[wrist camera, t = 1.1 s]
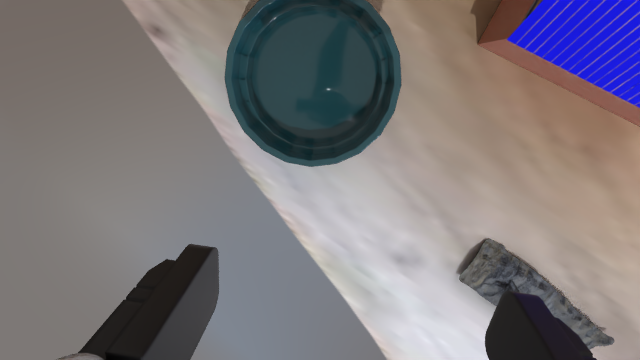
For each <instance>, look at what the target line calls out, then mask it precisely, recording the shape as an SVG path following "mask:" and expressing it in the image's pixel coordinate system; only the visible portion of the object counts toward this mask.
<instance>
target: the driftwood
mask: <svg viewBox="0 0 640 360" xmlns="http://www.w3.org/2000/svg"><path fill="white" fill-rule="evenodd" d="M459 280H460V281H461V282H462V283H464V284H467V285H468V286H470V287H471V288H472V289H474V290H475V291H477V292H478V293H479V294H480V295H481V296H482V297H484V298H485V299H487V300H488V301H489V302H491V303H493V304H494V305H496V306H497V305H498V302H499V300H500V298H501V296H502V294H503V293H504V292H505V291H512V292H519V293H526V294H533V295H537V296H539V297H540V298H541V299H542V300H543V302H544V303H545V305H546V306H547V307H548V309H549V310H550V312H551V313H552V315H553V316H554V317H555V318H559V319H560V320H561V321H563V322H564V323H565V324H566V325H567V326H568V327H570V328H571V329H572V330H573V331H574V332H575V333H576V334H578V335H579V337H580V338H581V339H582V341H583V342H584V343H585V345H586V346H587V347H588V349H589V350H590V349H591V348H594V347H595V346H607V345H611V344H613V343H614V339H613V338H612V337H610V336H607V335H606V334H604V333H603V332H601V331H600V330H599V329H598V328H595V325H594V324H593V323H592V322H591V321H589V320H587V319H586V318H585V317H584V316H583V315H581V314H580V313H579V312H577V311H576V310H575V308H573V306H572V305H571V304H570V303H569V301H568V300H567V299H566V298H565V297H563V296H562V295H561V294H560V293H558V292H557V291H556V290H555V289H554V288H553V287H552V286H551V285H550V284H549V283H547V282H546V281H545V280H543V279H542V278H541V276H540V275H539V274H538V273H536V272H535V271H534V270H533V269H531V268H530V267H529V266H527V265H525V264H524V263H523V262H522V261H520V260H519V259H517V258H515V257H514V256H512V255H511V254H510V253H508V252H507V251H506V249H505V247H504V246H502V245H499V244H498V243H497V242H495V241H494V240H491V239H488V240H486V241H485V242H484V243H483V245H482V247H481V249H480V251H479V252H478V254H477V255H476V257H475V258H474V260H473V262H472V263H471V264H470V265H469V266H468V268H467V269H466V270H465V271H464V272H463V273H462V274H461V276H460V277H459Z"/></svg>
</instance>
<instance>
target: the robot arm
mask: <svg viewBox="0 0 640 360" xmlns="http://www.w3.org/2000/svg"><path fill="white" fill-rule="evenodd" d="M218 294H219V263H218V250H217V248H215V247H208V246H201V245H194V244H189V245H188V246H187V247H186V248H185V249H184V250H183V252H182V253H181V254H180V256H179V257H178V259H177V260H176V261H174V260H168V259H166V260H165V261H163V262H162V263H160V264H158V265H157V266H155V267H154V268H152V269H150V270H149V271H148V272H147V273H146V275H145V276H144V277H143V278H142V279H141V280H140V282H139V283H138V284H137V287H136V288H133V290H132V291H131V292H130V293H129V294H128V296H127V297H126V300H123V301H122V302H121V304H120V305H119V306H118V307H117V308H116V309H115V311H114V312H113V313H112V314H111V315H110V316H109V318H108V319H107V320H106V321H105V322H104V323H103V325H102V326H101V327H100V328H99V329H98V330H97V332H96V333H95V334H94V335H93V336H92V338H91V339H90V340H89V341H88V342H87V343H86V345H85V346H84V347H83V348H82V349H81V350H80V351H79V352H78V353H77V354H72V355H68V356H64V357H62V358H59V359H57V360H190V359H191V357H192V355H193V353H194V351H195V349H196V347H197V345H198V343H199V341H200V339H201V337H202V335H203V333H204V331H205V329H206V327H207V325H208V322H209V321H210V319H211V316H212V315H213V313H214V310H215V307H216V304H217V300H218ZM485 347H486V352H487V355H488V358H489V360H597V359H596V358H593V356H592V355H593V354H592V353H591V351H590V350H589V349H588V347H587V346H586V345H585V343H584V342H583V341H582V339H581V338H580V337H579V335H578V334H576V333H575V332H574V331H573V330H572V329H571V328H570V327H568V326H567V325H566V324H565V323H564V322H563V321H561V320H560V319H559V318H555V317H554V316H553V315H552V313H551V312H550V310H549V309H548V307H547V306H546V305H545V303H544V302H543V300H542V299H541V298H540V297H539V296H537V295H533V294H526V293H519V292H512V291H505V292H504V293H503V294H502V296H501V298H500V300H499V302H498V305H497V307H496V310H495V312H494V314H493V317H492V319H491V321H490V324H489V326H488V329H487V331H486V336H485Z"/></svg>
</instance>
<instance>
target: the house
mask: <svg viewBox="0 0 640 360" xmlns="http://www.w3.org/2000/svg"><path fill="white" fill-rule="evenodd" d="M540 2H541V0H502V1H501V3H500V4H499V6H498V8H497V10H496V12H495V13H494V15H493V17H492V19H491V21H490V22H489V24H488V26H487V28H486V30H485V31H484V33H483V35H482V37H481V39H480V40H479V42H478V44H477V45H479V46H481V47H483V48H485V49H487V50H489V51H491V52H493V53H495V54H497V55H499V56H501V57H503V58H505V59H507V60H509V61H511V62H513V63H515V64H517V65H519V66H521V67H523V68H525V69H527V70H529V71H531V72H533V73H535V74H537V75H539V76H541V77H543V78H545V79H547V80H549V81H551V82H553V83H555V84H557V85H559V86H561V87H563V88H564V89H566V90H568V91H570V92H572V93H574V94H576V95H578V96H580V97H582V98H584V99H586V100H588V101H590V102H592V103H594V104H596V105H598V106H600V107H602V108H604V109H606V110H608V111H610V112H612V113H614V114H616V115H618V116H620V117H622V118H624V119H626V120H628V121H630V122H632V123H634V124H636V125H638V126H640V0H542V2H541V3H540Z"/></svg>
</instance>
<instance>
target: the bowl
mask: <svg viewBox="0 0 640 360" xmlns="http://www.w3.org/2000/svg"><path fill="white" fill-rule="evenodd" d="M225 83H226V88H227V93H228V98H229V103H230V106H231V109H232V111H233V113H234V114H235V116H236V118H237V120H238V122H239V124H240V126H241V127H242V129H243V131H244V132H245V133H246V134H247V135H248V136H249V137H250V138H251V139H252V140H253V141H254V142H255V143H256V144H257V145H258V146H259V147H260V148H261V149H263V150H264V151H266V152H267V153H269V154H271V155H273V156H275V157H277V158H279V159H281V160H283V161H284V162H288V163H293V164H299V165H304V166H309V167H313V166H322V165H330V164H336V163H339V162H341V161H344V160H346V159H348V158H350V157H353V156H355V155H357V154H359V153H361V152H362V151H363V150H364V149H365V148H366V147H368V146H369V145H370V144H371V143H372V142H373V141H374V140H375V139H377V138H378V137H379V136H380V135H381V133H382V132H383V130H384V128H385V127H386V125H387V123H388V122H389V120H390V118H391V117H392V115H393V113H394V111H395V108H396V104H397V100H398V96H399V92H400V88H401V67H400V55H399V51H398V49H397V46H396V43H395V41H394V38H393V36H392V33H391V30H390V28H389V26H388V25H387V23H386V22H385V21H384V20H383V18H382V17H381V16H380V15H379V14H378V12H377V11H376V10H375V9H374V7H373V6H372V5H371V4H370V3H369V2H367V1H366V0H259V1H258V2H257V3H256V4H255V5H254V6H253V7H252V9H251V10H250V11H249V12H248V13H247V14H246V15H245V16H244V18H243V19H242V20H241V21H240V22H239V24H238V26H237V28H236V31H235V33H234V35H233V38H232V40H231V42H230V45H229V47H228V50H227V59H226V69H225Z"/></svg>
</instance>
